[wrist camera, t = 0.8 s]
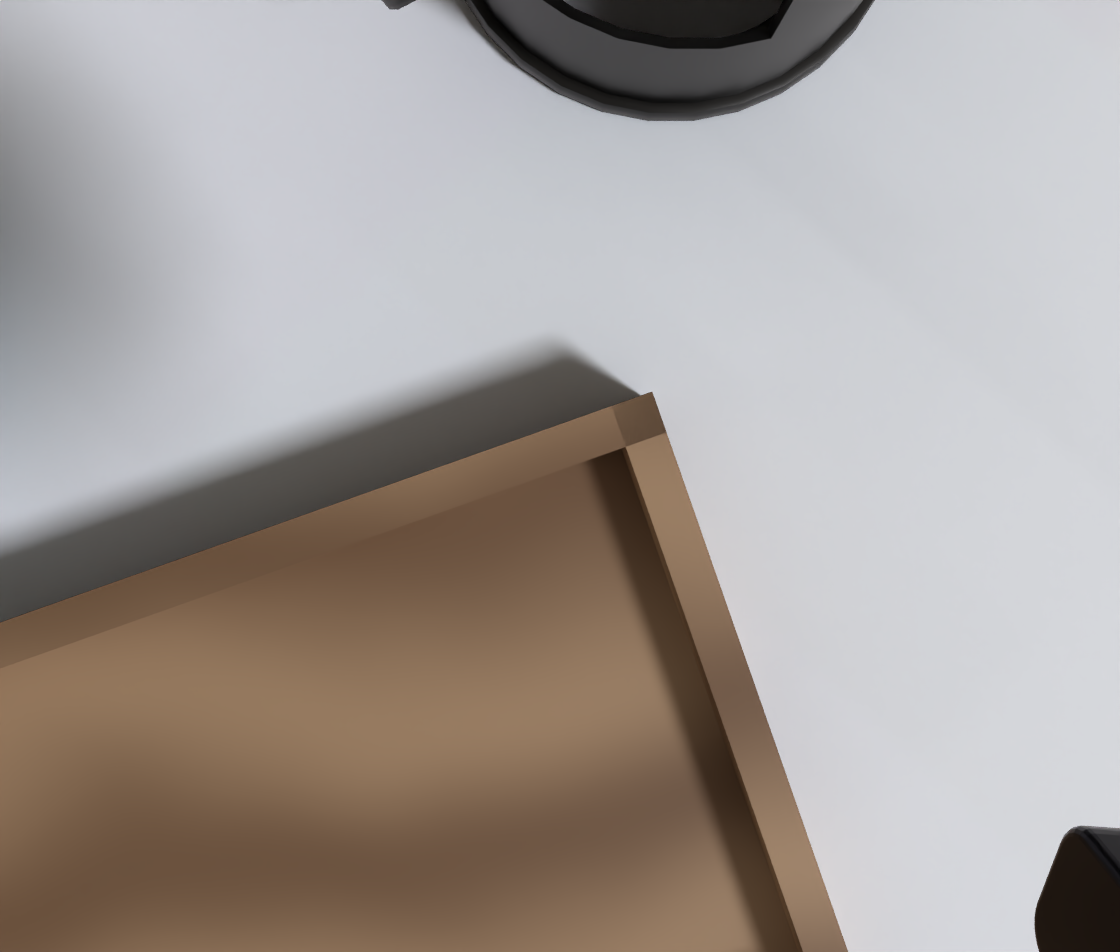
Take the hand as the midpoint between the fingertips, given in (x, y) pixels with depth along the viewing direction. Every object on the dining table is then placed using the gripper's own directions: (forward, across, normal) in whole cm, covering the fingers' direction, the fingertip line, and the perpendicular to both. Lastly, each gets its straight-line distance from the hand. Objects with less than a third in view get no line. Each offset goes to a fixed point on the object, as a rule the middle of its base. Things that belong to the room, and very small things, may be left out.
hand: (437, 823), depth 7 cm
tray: (+10, +5, +12) cm, 16 cm away
